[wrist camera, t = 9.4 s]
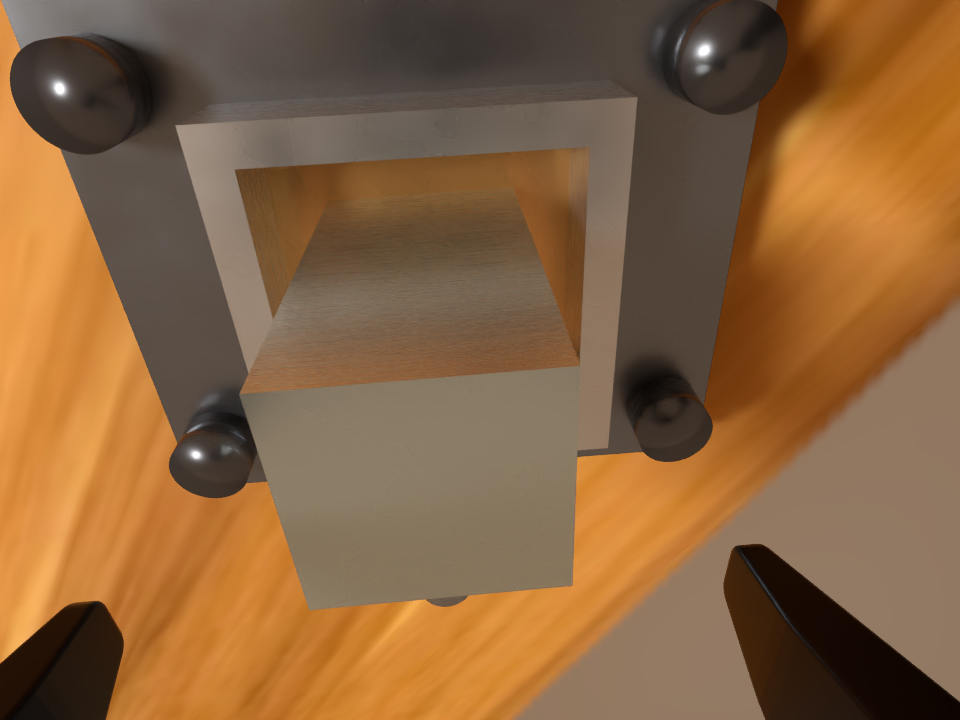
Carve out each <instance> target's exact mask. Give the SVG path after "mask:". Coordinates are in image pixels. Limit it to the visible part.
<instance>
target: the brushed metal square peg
mask: <svg viewBox="0 0 960 720" xmlns="http://www.w3.org/2000/svg"><path fill="white" fill-rule="evenodd" d="M579 390H580V364H579V361H578V358H577V356H576V353H575V350H574V348H573V345H572V342H571V340H570V337H569V334H568V332H567V329H566V326H565V324H564V321H563V318H562V316H561V313H560V310H559V308H558V305H557V302H556V300H555V297H554V295H553V292H552V289H551V287H550V284H549V281H548V279H547V276H546V273H545V271H544V268H543V265H542V263H541V260H540V257H539V255H538V252H537V249H536V247H535V244H534V241H533V239H532V236H531V233H530V231H529V228H528V225H527V223H526V220H525V217H524V215H523V212H522V210H521V207H520V204H519V202H518V199H517V196H516V194H515V191H514V188H513V187H504V188H491V189H478V190H465V191H451V192H438V193H425V194H412V195H399V196H386V197H372V198H359V199H346V200H333V201H328V202H327V204H326V206H325V208H324V210H323V212H322V215H321V217H320V219H319V221H318V223H317V226H316V228H315V230H314V232H313V234H312V236H311V239H310V241H309V243H308V245H307V247H306V250H305V252H304V254H303V256H302V258H301V260H300V263H299V265H298V267H297V269H296V271H295V274H294V276H293V278H292V280H291V282H290V284H289V287H288V289H287V291H286V293H285V295H284V298H283V300H282V302H281V304H280V306H279V309H278V311H277V313H276V315H275V317H274V319H273V322H272V324H271V326H270V328H269V330H268V333H267V335H266V337H265V339H264V341H263V343H262V346H261V348H260V350H259V352H258V354H257V357H256V359H255V361H254V363H253V365H252V367H251V370H250V372H249V374H248V376H247V378H246V381H245V383H244V385H243V387H242V389H241V391H240V394H239V395H240V399H241V402H242V405H243V408H244V411H245V414H246V417H247V420H248V423H249V426H250V429H251V432H252V435H253V438H254V442H255V445H256V448H257V451H258V454H259V457H260V460H261V463H262V466H263V469H264V472H265V475H266V478H267V481H268V485H269V488H270V491H271V494H272V497H273V500H274V503H275V506H276V509H277V512H278V515H279V518H280V521H281V524H282V528H283V531H284V534H285V537H286V540H287V543H288V546H289V549H290V552H291V555H292V558H293V561H294V564H295V567H296V571H297V574H298V577H299V580H300V583H301V586H302V589H303V592H304V595H305V598H306V601H307V604H308V607H309V610H315V609H326V608H337V607H348V606H359V605H370V604H380V603H391V602H402V601H413V600H424V599H426V600H427V601H428V602H430V603H431V604H433V605H436V606H442V607H447V606H453V605H456V604H458V603H460V602H462V601H463V600H465V599H466V598H467V597H468V596H469V595H478V594H488V593H499V592H510V591H521V590H532V589H542V588H553V587H564V586H572V583H573V556H574V528H575V500H576V473H577V445H578V418H579Z"/></svg>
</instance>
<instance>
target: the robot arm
mask: <svg viewBox="0 0 960 720" xmlns="http://www.w3.org/2000/svg"><path fill="white" fill-rule="evenodd" d="M724 595H725V599H726V602H727V606H728V609H729V612H730V615H731V618H732V621H733V625H734V628H735V631H736V634H737V637H738V640H739V644H740V647H741V650H742V653H743V656H744V659H745V662H746V665H747V669H748V672H749V675H750V678H751V681H752V684H753V688H754V690H755V693H756V696H757V699H758V702H759V705H760V707H761V710H762V712H763V715H764V717H765V720H960V702H959V701H958V700H957V699H956V698H954V697H953V696H952V695H951V694H949V693H948V692H947V691H946V690H944V689H943V688H942V687H941V686H939V685H938V684H937V683H936V682H934V681H933V680H932V679H931V678H930V677H928V676H927V675H926V674H925V673H923V672H922V671H921V670H920V669H918V668H917V667H916V666H915V665H913V664H912V663H911V662H910V661H908V660H907V659H906V658H905V657H903V656H902V655H901V654H900V653H898V652H897V651H896V650H895V649H893V648H892V647H891V646H890V645H888V644H887V643H886V642H885V641H884V640H882V639H881V638H880V637H879V636H877V635H876V634H875V633H874V632H872V631H871V630H870V629H869V628H867V627H866V626H865V625H864V624H862V623H861V622H860V621H859V620H857V619H856V618H855V617H853V616H852V615H851V614H850V613H849V612H847V611H846V610H845V609H844V608H842V607H841V606H840V605H839V604H837V603H836V602H835V601H834V600H832V599H831V598H830V597H829V596H828V595H826V594H825V593H824V592H823V591H821V590H820V589H819V588H817V587H816V586H815V585H814V584H813V583H811V582H810V581H809V580H808V579H806V578H805V577H804V576H803V575H801V574H800V573H799V572H798V571H796V570H795V569H794V568H793V567H791V566H790V565H789V564H788V563H786V562H785V561H784V560H783V559H781V558H780V557H779V556H778V555H776V554H775V553H774V552H773V551H772V550H770V549H769V548H768V547H766V546H764V545H761V544H750V545H739V546H735V547H734V548H733V549H732V551H731V555H730V559H729V562H728V566H727V570H726V575H725V579H724ZM123 648H124V640H123V636H122V633H121V631H120V630H119V628H118V626H117V625H116V623H115V621H114V619H113V618H112V616H111V614H110V613H109V611H108V609H107V607H106V606H105V605H104V604H103V603H102V602H100V601H89V602H78V603H72V604H69V605H67V606H66V607H64V608H63V609H62V610H60V611H59V612H58V613H57V614H56V615H55V616H54V617H52V618H51V619H50V620H49V621H48V622H47V623H46V624H45V625H43V626H42V627H41V628H40V629H39V630H38V631H37V632H35V633H34V634H33V635H32V636H31V637H30V638H29V639H28V640H26V641H25V642H24V643H23V644H22V645H21V646H20V647H18V648H17V649H16V650H15V651H14V652H13V653H12V654H11V655H9V656H8V657H7V658H6V659H5V660H4V661H3V662H2V663H0V720H106V717H107V713H108V709H109V705H110V701H111V697H112V693H113V690H114V686H115V682H116V678H117V674H118V670H119V666H120V662H121V658H122V654H123Z"/></svg>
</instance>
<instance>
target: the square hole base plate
mask: <svg viewBox="0 0 960 720" xmlns="http://www.w3.org/2000/svg"><path fill="white" fill-rule="evenodd" d="M1 1H2V3H3V6H4V9H5V11H6V14H7V16H8V19H9V21H10V24H11V26H12V29H13V31H14V34H15V36H16V39H17V41H18V44H19V46H20V49H21V51H20V52H19V53H18V54H17V55H16V57H15V59H14V61H13V64H12V67H11V71H10V86H11V91H12V95H13V98H14V101H15V103H16V106H17V108H18V110H19V111H20V113H21V115H22V116H23V118H24V119H25V120H26V122H27V123H28V124H29V125H30V126H31V128H32V129H33V130H34V131H35V132H36V133H38V134H39V135H40V136H41V137H42V138H44V139H45V140H46V141H48V142H49V143H51V144H53V145H54V146H56V147H58V148H60V149H61V152H62V154H63V157H64V159H65V162H66V164H67V167H68V169H69V172H70V174H71V177H72V179H73V182H74V184H75V187H76V189H77V192H78V194H79V197H80V199H81V202H82V204H83V207H84V209H85V212H86V214H87V217H88V219H89V222H90V224H91V227H92V229H93V232H94V234H95V237H96V240H97V242H98V245H99V247H100V250H101V252H102V255H103V257H104V260H105V262H106V265H107V267H108V270H109V272H110V275H111V277H112V280H113V282H114V285H115V287H116V290H117V292H118V295H119V297H120V300H121V302H122V305H123V307H124V310H125V312H126V315H127V317H128V320H129V322H130V325H131V327H132V330H133V332H134V335H135V337H136V340H137V342H138V345H139V347H140V350H141V353H142V355H143V358H144V360H145V363H146V365H147V368H148V370H149V373H150V375H151V378H152V380H153V383H154V385H155V388H156V390H157V393H158V395H159V398H160V400H161V403H162V405H163V408H164V410H165V413H166V415H167V418H168V420H169V423H170V425H171V428H172V430H173V433H174V435H175V438H176V440H177V443H178V444H177V446H176V448H175V450H174V452H173V453H172V455H171V457H170V461H169V469H170V472H171V475H172V477H173V478H174V480H175V481H176V482H177V483H178V484H179V485H180V486H181V487H183V488H184V489H185V490H187V491H189V492H191V493H193V494H196V495H199V496H203V497H208V498H222V497H227V496H230V495H233V494H235V493H237V492H238V491H240V490H241V489H242V488H243V487H244V486H245V484H246V483H253V482H266V481H267V478H266V475H265V472H264V469H263V466H262V463H261V460H260V457H259V454H258V451H257V448H256V445H255V442H254V438H253V435H252V432H251V429H250V426H249V423H248V420H247V417H246V414H245V411H244V408H243V405H242V402H241V399H240V395H239V394H240V391H241V389H242V387H243V385H244V383H245V381H246V378H247V376H248V374H249V372H250V370H251V367H252V365H253V363H254V361H255V359H256V357H257V354H258V352H259V350H260V348H261V346H262V343H263V341H264V339H265V337H266V335H267V333H268V330H269V328H270V326H271V324H272V322H273V319H274V317H275V315H276V313H277V311H278V309H279V306H280V304H281V302H282V300H283V298H284V295H285V293H286V291H287V289H288V287H289V284H290V282H291V280H292V278H293V276H294V274H295V271H296V269H297V267H298V265H299V263H300V260H301V258H302V256H303V254H304V252H305V250H306V247H307V245H308V243H309V241H310V239H311V236H312V234H313V232H314V230H315V228H316V226H317V223H318V221H319V219H320V217H321V215H322V212H323V210H324V208H325V206H326V204H327V202H328V201H333V200H346V199H359V198H372V197H386V196H399V195H412V194H425V193H438V192H451V191H465V190H478V189H491V188H504V187H513V188H514V191H515V194H516V196H517V199H518V202H519V204H520V207H521V210H522V212H523V215H524V217H525V220H526V223H527V225H528V228H529V231H530V233H531V236H532V239H533V241H534V244H535V247H536V249H537V252H538V255H539V257H540V260H541V263H542V265H543V268H544V271H545V273H546V276H547V279H548V281H549V284H550V287H551V289H552V292H553V295H554V297H555V300H556V302H557V305H558V308H559V310H560V313H561V316H562V318H563V321H564V324H565V326H566V329H567V332H568V334H569V337H570V340H571V342H572V345H573V348H574V350H575V353H576V356H577V358H578V361H579V364H580V390H579V418H578V445H577V457H582V456H594V455H607V454H620V453H632V452H644V453H645V454H646V455H647V456H649V457H650V458H652V459H654V460H657V461H662V462H673V461H679V460H682V459H685V458H688V457H690V456H692V455H694V454H695V453H697V452H698V451H699V450H700V449H702V448H703V447H704V446H705V444H706V443H707V442H708V440H709V438H710V436H711V433H712V428H713V425H712V420H711V417H710V416H709V414H708V412H707V411H706V409H705V408H704V401H705V395H706V390H707V385H708V379H709V374H710V368H711V363H712V357H713V352H714V346H715V341H716V335H717V330H718V324H719V319H720V314H721V308H722V303H723V297H724V292H725V286H726V281H727V275H728V270H729V264H730V259H731V254H732V248H733V243H734V237H735V232H736V226H737V221H738V215H739V210H740V204H741V199H742V193H743V188H744V183H745V177H746V172H747V166H748V161H749V155H750V150H751V144H752V139H753V133H754V128H755V123H756V117H757V112H758V106H759V101H760V100H761V99H762V98H763V97H764V96H765V95H766V94H767V93H768V92H769V91H770V90H771V88H772V87H773V86H774V84H775V83H776V81H777V80H778V78H779V76H780V74H781V72H782V69H783V66H784V63H785V59H786V55H787V34H786V29H785V26H784V24H783V21H782V19H781V18H780V16H779V15H778V14H777V12H776V8H777V2H778V0H1Z"/></svg>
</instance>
